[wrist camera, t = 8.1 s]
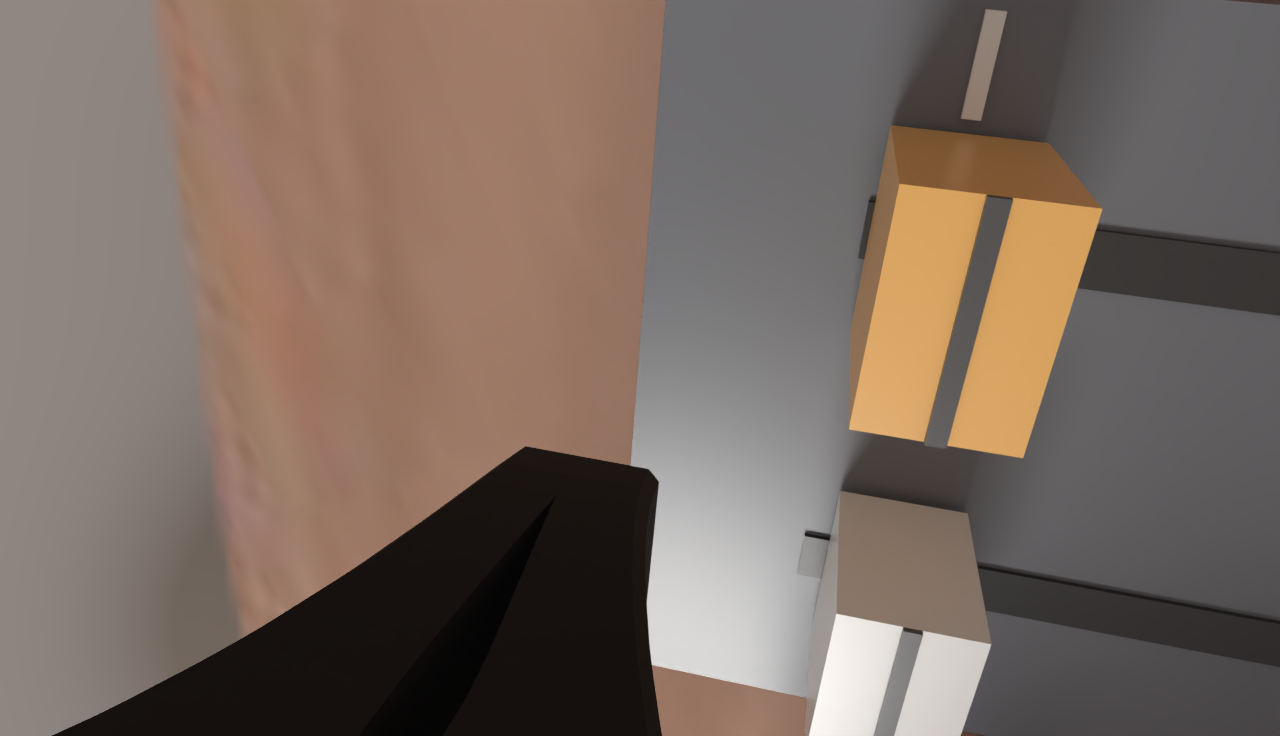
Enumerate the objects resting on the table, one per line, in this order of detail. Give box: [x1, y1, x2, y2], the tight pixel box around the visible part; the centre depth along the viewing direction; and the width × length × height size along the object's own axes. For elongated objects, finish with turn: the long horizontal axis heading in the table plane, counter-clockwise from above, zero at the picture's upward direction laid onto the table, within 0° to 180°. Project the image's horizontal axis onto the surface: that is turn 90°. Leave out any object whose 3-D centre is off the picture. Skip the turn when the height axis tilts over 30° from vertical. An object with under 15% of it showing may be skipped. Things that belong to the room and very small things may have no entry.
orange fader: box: [849, 125, 1102, 458], centre depth 13 cm, size 4×2×4 cm, turn 176°
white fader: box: [804, 491, 991, 736], centre depth 17 cm, size 4×2×4 cm, turn 176°
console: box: [631, 0, 1280, 736], centre depth 16 cm, size 15×20×1 cm
